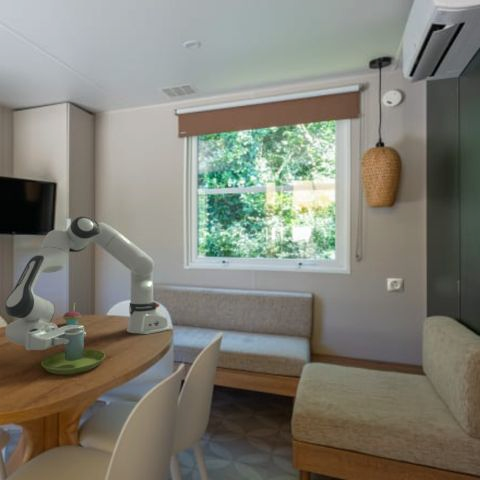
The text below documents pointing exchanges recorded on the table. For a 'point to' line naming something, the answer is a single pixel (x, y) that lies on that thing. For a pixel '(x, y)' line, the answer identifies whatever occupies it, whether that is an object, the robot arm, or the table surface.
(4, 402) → the table surface
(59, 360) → the saucer
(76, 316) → the cupcake
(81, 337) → the beaker
